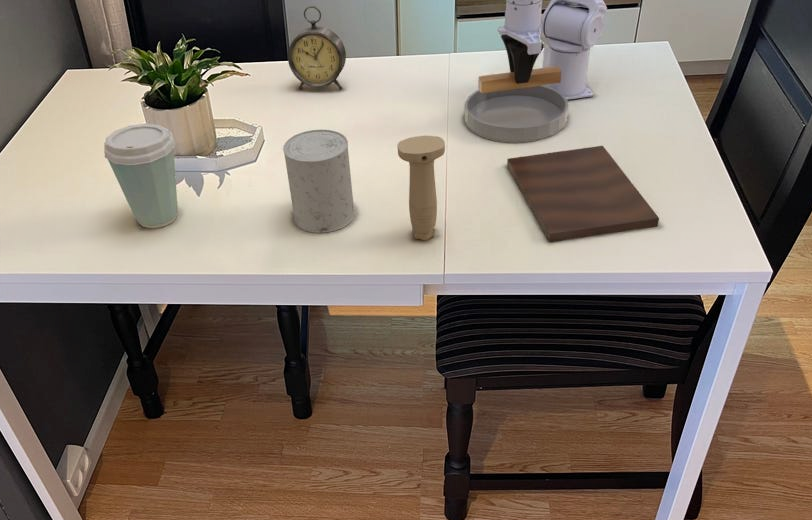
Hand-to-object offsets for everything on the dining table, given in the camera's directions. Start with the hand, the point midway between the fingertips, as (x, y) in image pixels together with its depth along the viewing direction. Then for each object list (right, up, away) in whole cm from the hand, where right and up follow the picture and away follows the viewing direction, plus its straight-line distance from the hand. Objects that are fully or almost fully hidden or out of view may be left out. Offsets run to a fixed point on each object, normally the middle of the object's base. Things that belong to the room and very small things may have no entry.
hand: (519, 78), depth 136 cm
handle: (-18, -29, -19) cm, 39 cm away
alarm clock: (-35, +5, +23) cm, 42 cm away
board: (+6, -22, -15) cm, 27 cm away
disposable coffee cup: (-60, -25, -10) cm, 66 cm away
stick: (0, -1, +1) cm, 1 cm away
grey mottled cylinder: (-33, -25, -13) cm, 44 cm away
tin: (0, -5, +6) cm, 8 cm away
